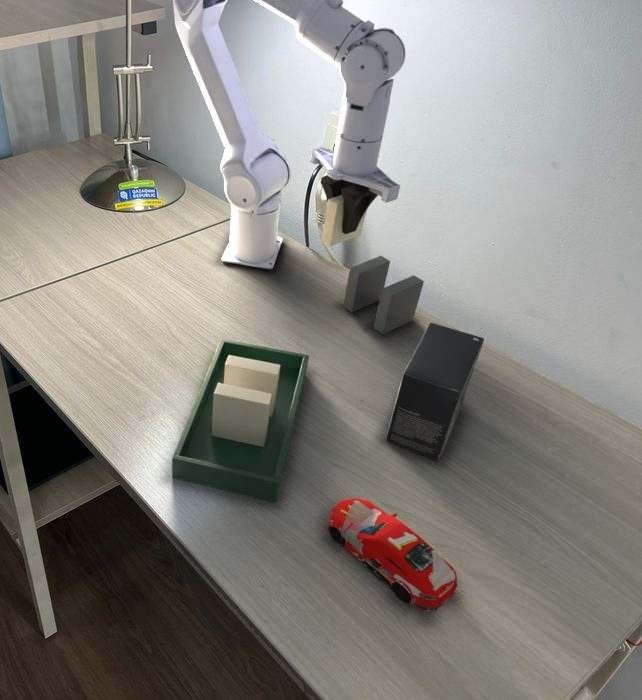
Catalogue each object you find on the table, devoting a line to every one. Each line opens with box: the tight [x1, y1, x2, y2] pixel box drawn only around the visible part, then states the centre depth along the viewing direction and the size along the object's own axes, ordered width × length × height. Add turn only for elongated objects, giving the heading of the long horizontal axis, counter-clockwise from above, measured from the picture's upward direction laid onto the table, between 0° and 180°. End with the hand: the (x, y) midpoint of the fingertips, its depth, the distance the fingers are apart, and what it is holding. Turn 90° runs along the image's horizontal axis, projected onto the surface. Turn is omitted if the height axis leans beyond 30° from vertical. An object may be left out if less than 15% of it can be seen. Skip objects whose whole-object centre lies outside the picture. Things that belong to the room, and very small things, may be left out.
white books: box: [212, 355, 281, 447], centre depth 78 cm, size 7×6×6 cm
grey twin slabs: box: [342, 255, 425, 335], centre depth 95 cm, size 8×6×6 cm
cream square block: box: [321, 195, 366, 247], centre depth 96 cm, size 2×6×6 cm, turn 123°
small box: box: [385, 322, 485, 461], centre depth 77 cm, size 11×6×10 cm, turn 149°
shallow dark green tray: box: [171, 338, 310, 503], centre depth 80 cm, size 21×11×3 cm, turn 163°
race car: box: [327, 497, 458, 612], centre depth 65 cm, size 13×5×4 cm, turn 37°
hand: (343, 227), depth 97 cm, fingers closed on cream square block, 2 cm apart
